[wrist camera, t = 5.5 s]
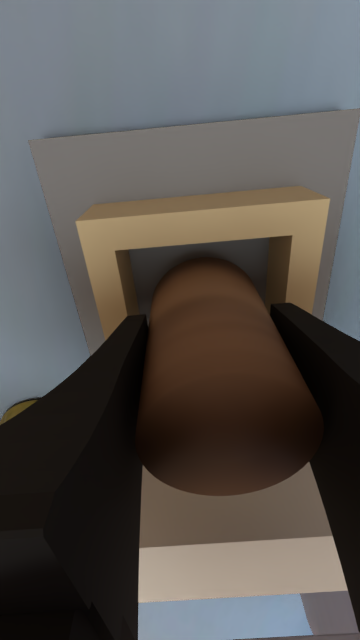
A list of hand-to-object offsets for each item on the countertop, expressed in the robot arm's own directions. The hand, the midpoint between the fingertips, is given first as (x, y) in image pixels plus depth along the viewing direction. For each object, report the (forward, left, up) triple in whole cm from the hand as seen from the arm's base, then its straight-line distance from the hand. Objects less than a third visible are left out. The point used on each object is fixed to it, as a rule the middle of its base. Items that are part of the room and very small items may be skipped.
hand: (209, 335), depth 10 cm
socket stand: (-2, 0, -5) cm, 5 cm away
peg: (0, 0, -2) cm, 2 cm away
